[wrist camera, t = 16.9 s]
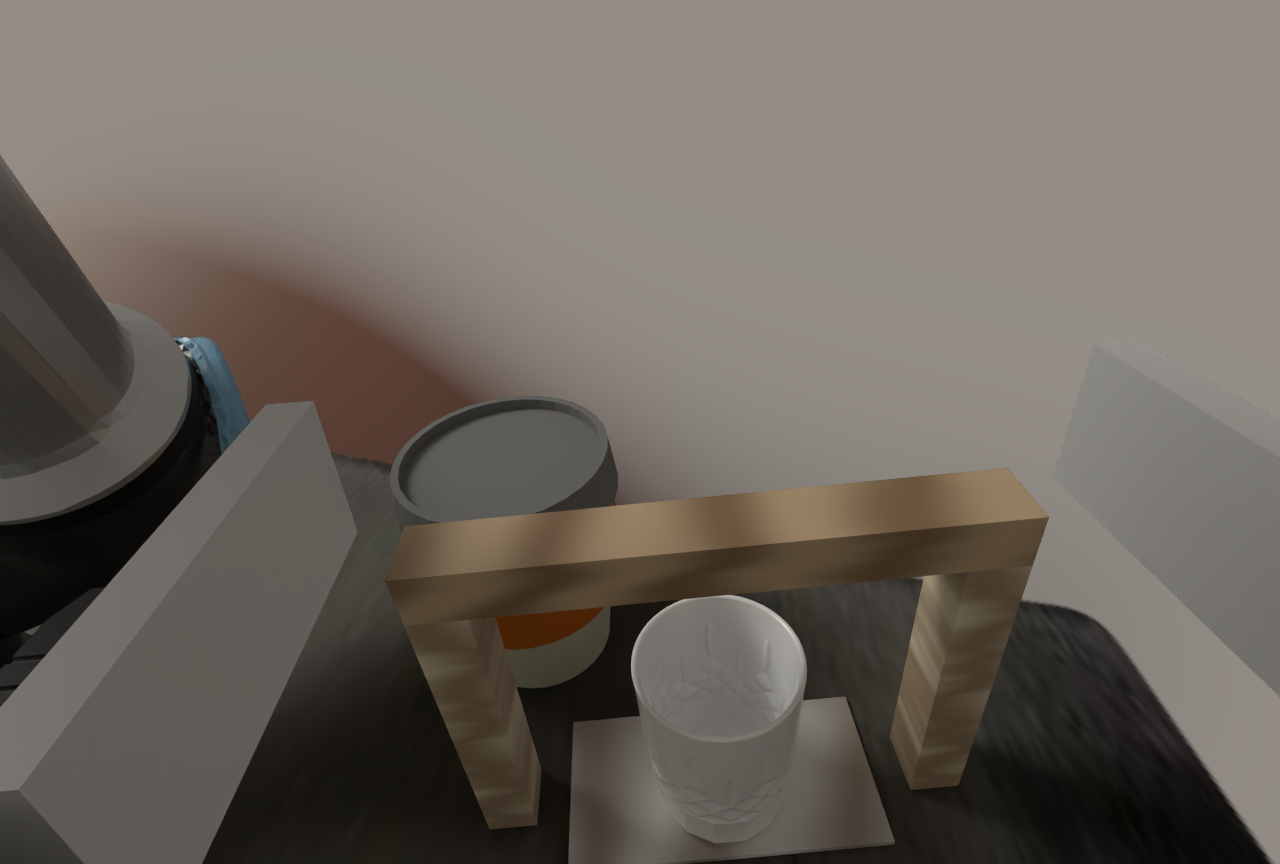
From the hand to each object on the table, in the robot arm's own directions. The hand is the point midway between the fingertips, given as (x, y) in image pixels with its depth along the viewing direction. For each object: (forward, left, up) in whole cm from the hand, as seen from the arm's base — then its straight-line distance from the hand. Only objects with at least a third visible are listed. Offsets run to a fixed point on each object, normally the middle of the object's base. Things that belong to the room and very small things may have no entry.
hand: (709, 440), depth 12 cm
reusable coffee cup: (-23, +3, -30) cm, 37 cm away
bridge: (-8, +6, -29) cm, 31 cm away
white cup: (-8, +6, -29) cm, 31 cm away
